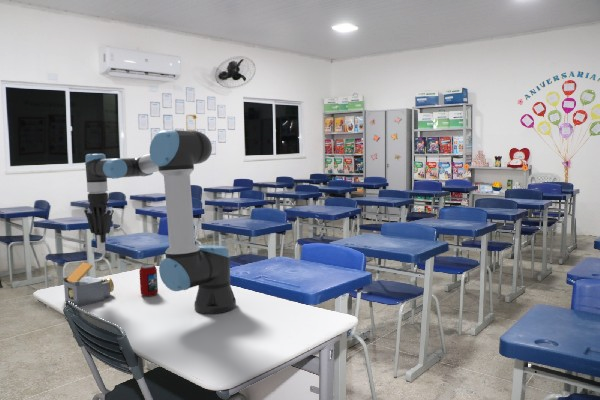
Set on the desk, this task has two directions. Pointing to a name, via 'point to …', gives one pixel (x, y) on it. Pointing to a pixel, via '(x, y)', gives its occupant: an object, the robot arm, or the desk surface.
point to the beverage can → (148, 280)
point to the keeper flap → (79, 272)
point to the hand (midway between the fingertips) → (101, 250)
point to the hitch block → (86, 290)
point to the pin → (103, 282)
